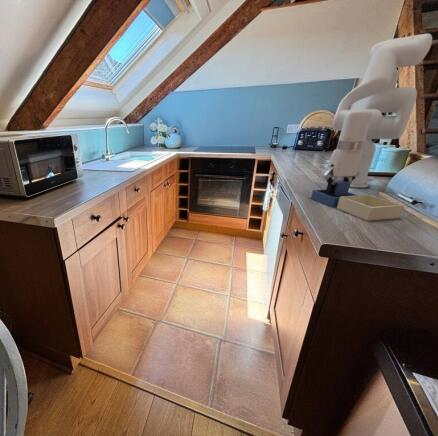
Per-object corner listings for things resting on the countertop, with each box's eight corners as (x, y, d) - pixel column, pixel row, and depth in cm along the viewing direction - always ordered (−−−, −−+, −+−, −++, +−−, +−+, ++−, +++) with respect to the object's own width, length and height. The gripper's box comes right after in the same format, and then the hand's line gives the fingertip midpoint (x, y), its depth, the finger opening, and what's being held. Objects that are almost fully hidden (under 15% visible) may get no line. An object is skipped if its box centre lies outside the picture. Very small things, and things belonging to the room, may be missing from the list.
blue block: (336, 191, 100) (339, 179, 98) (347, 195, 95) (350, 182, 93) (325, 192, 99) (328, 180, 97) (335, 195, 95) (339, 183, 93)
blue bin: (334, 196, 104) (336, 188, 103) (358, 205, 94) (361, 196, 93) (310, 198, 103) (312, 190, 102) (332, 207, 93) (335, 198, 92)
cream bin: (365, 206, 93) (369, 194, 91) (399, 218, 82) (404, 205, 80) (336, 208, 92) (340, 196, 90) (367, 220, 81) (372, 207, 79)
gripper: (360, 144, 95) (346, 189, 102) (320, 145, 93) (309, 191, 100) (380, 146, 88) (363, 194, 95) (337, 148, 86) (324, 197, 93)
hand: (336, 192), depth 97 cm, fingers closed on blue block, 5 cm apart
